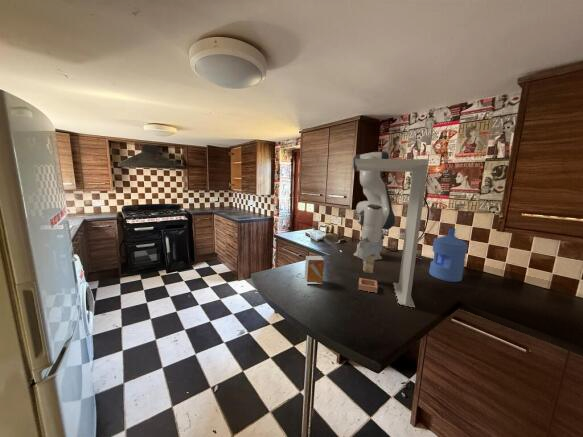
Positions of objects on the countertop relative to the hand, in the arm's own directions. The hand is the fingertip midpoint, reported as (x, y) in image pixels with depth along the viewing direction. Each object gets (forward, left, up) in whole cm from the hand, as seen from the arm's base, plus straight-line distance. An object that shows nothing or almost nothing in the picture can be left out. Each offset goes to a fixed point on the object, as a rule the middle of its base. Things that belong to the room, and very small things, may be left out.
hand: (368, 262), depth 118 cm
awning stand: (+11, +5, -10) cm, 15 cm away
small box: (+14, -26, -10) cm, 31 cm away
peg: (0, 0, -5) cm, 5 cm away
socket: (+10, 0, -10) cm, 14 cm away
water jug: (-24, +42, -10) cm, 50 cm away
